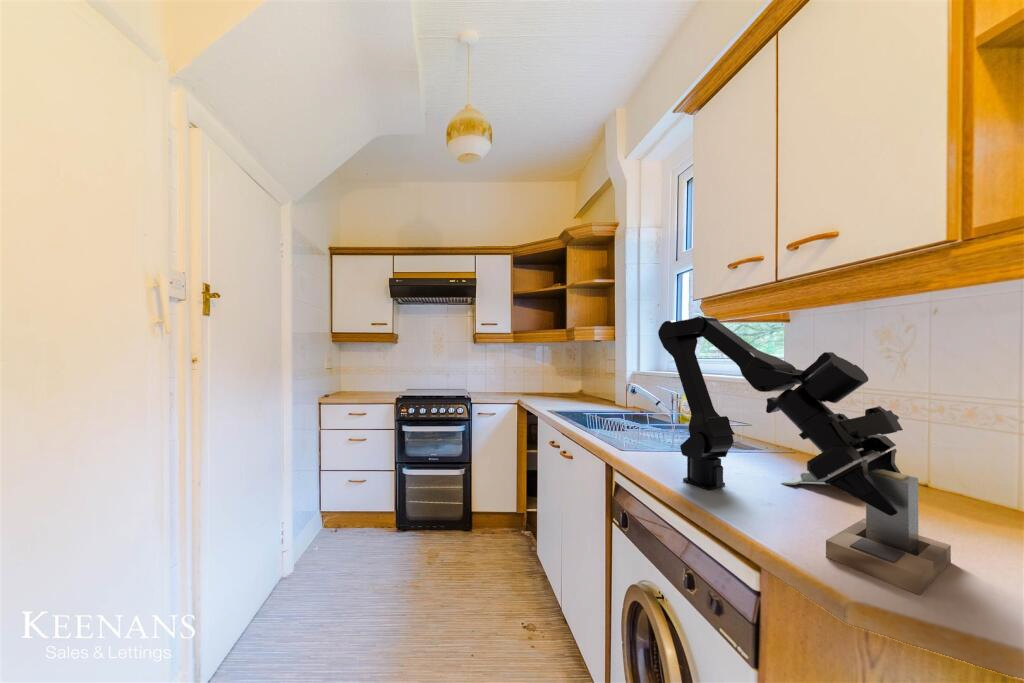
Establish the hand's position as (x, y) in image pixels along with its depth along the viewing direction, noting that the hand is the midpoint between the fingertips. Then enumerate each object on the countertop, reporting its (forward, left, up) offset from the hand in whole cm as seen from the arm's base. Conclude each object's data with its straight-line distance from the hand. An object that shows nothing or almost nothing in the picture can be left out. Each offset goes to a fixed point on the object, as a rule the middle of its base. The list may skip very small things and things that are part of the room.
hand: (905, 507), depth 54 cm
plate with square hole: (-1, -2, -8) cm, 8 cm away
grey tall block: (-1, 0, -8) cm, 8 cm away
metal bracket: (-18, +26, -8) cm, 33 cm away
